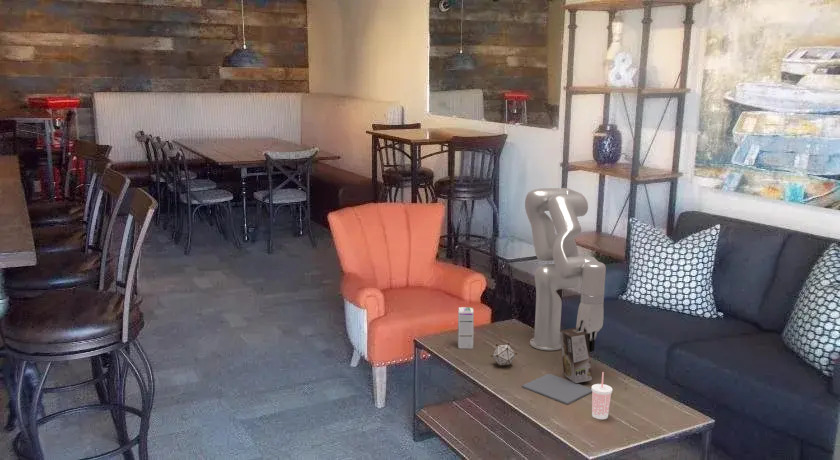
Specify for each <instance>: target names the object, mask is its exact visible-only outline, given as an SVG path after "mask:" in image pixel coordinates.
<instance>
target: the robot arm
mask: <svg viewBox="0 0 840 460" xmlns="http://www.w3.org/2000/svg"><path fill="white" fill-rule="evenodd" d="M524 199H525V200H524V209H525V213H526V216H527V219H528V220H529V221H528V222H529V224H530V227H531V233H532V240H533V247H534V252H535V256H536V258H537V260H539V261H541V262H551V261H552V262H553V263H548V264H542V265H540V266H538V267H537V268H536V269H535V271H534V282H535V291H536V293H535V296H536V297H535V316H534V317H535V318H534V319H535V320H534V335H533V337H532V338H530V340H529V344H530V346H531V347H533V348H534V349H537V350H541V351H551V352H552V351H559V350H562V349H561V339H560V331H561V321H562V319H561V318H562V306H563V305H562V303H563V302H562V298H561V297H560V295H559V294H558V292H557V291H558V290H567V289H574V288H577V287H579V286H581V288H580V289H581V290H580V303H579V304H578V305H579V306H578V309H577V317H576V325H575V328H576V330H581V331H580V332H586V333H588V339H589V351H590V353H592V352H594V351H595V348H596V347H595V344H596V338H597V334H598V332H599V331H600V330H601V329H602V328H603V325H604V314H605V312H604V310H605V309H604V303H605V302H604V299H605V287H606V286H605V285H606V274H607V273H606V272H607V270H606V264H604V262H601V261H599V260H598V259H596V257H593V256H592V255H588V256H587V255H586V256H579V251H578V247H577V246H578V245H577V242H576V240H575V239H576V238H577V237H578V236H579V235H580V234H581V232H582V227H581V225H580V221H579V219H578V217H584V216H586V214H587V212H588V210H589V204H588V203H589V202H588V201H587V198H586V197H585V196H584V195H583V194H582V193H581V192H578V191H575V190H573V189H571V188H567V187H560V188H559V187H557V188H556V187H555V188H552V187H551V188H536V189H532V190H530V191H529V192H528V193H527V194H526V196H525V198H524ZM546 212H549V214H550V216H549V215H548V214H547V213H546ZM556 233H557V234H556Z"/></svg>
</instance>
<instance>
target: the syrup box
mask: <svg viewBox="0 0 840 460" xmlns="http://www.w3.org/2000/svg"><path fill="white" fill-rule="evenodd" d="M457 312H458V314H457V317H458V318H457V319H458V320H457V348H458V349H463V350H464V349H469V350H471V349H472V350H473V349H474V331H475V329H474V319H475V317H474V314H475V313H474V307H469V306H468V307H467V306H463V307H462V306H461V307H460V306H459V307H458V311H457Z"/></svg>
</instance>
